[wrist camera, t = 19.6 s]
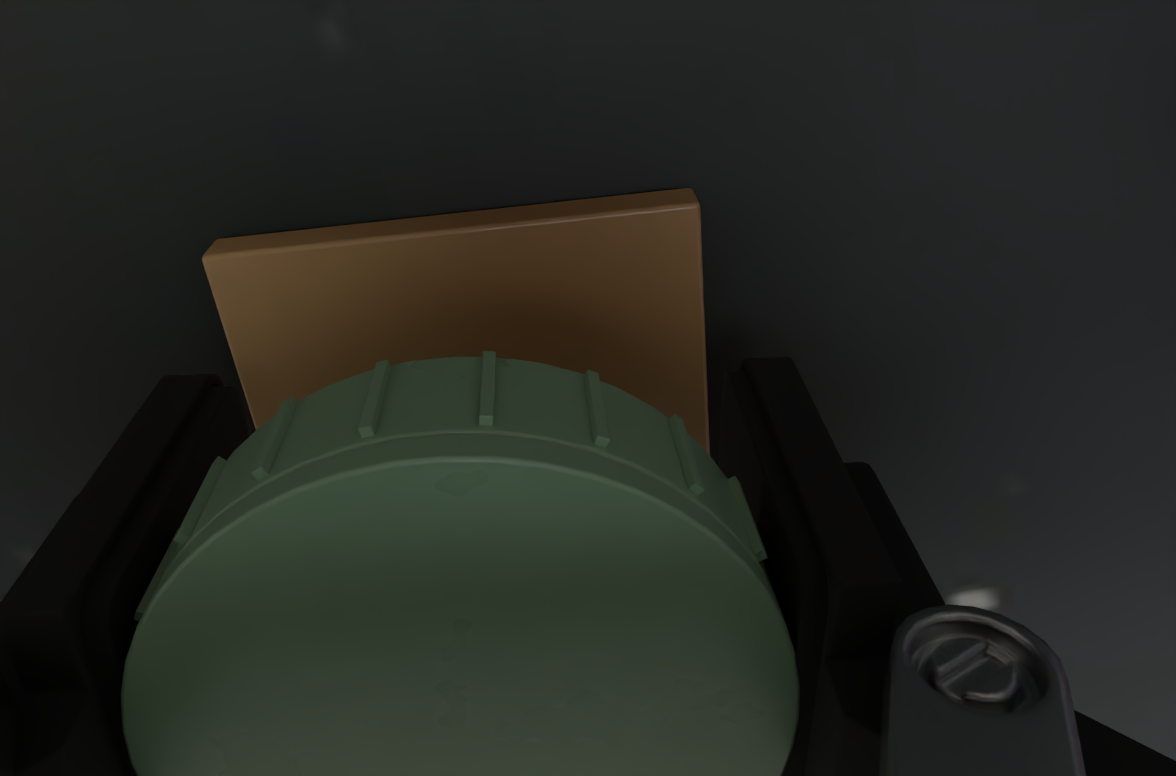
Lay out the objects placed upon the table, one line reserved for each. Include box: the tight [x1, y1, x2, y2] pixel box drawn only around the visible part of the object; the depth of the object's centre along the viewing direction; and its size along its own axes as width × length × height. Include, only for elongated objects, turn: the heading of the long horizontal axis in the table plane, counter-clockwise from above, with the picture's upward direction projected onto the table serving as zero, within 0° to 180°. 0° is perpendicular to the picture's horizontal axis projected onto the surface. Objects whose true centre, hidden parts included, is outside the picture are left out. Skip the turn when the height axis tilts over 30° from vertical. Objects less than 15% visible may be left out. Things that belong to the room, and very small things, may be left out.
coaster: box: [202, 188, 710, 455], centre depth 12 cm, size 6×6×1 cm
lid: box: [121, 351, 800, 776], centre depth 9 cm, size 6×6×2 cm
